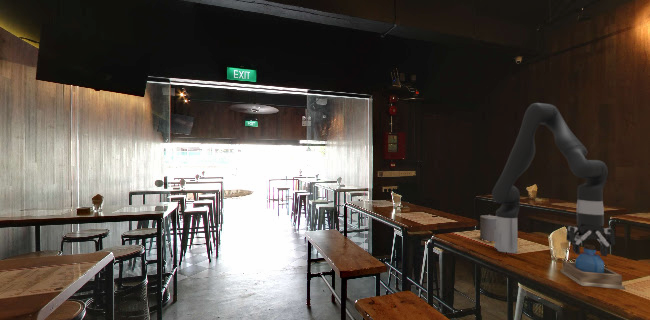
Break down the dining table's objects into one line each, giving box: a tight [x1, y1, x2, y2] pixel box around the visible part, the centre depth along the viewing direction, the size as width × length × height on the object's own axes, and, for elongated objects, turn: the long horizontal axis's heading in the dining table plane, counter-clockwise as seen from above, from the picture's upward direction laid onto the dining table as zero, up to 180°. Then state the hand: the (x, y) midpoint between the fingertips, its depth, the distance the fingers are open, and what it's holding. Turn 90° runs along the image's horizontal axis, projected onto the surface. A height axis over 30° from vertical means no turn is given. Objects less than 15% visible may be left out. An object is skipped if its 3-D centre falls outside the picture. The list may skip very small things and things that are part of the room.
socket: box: [560, 261, 626, 290], centre depth 107 cm, size 13×13×4 cm
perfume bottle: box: [575, 244, 605, 273], centre depth 108 cm, size 6×6×12 cm
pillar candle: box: [479, 214, 496, 241], centre depth 162 cm, size 10×10×15 cm
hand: (590, 254), depth 108 cm, fingers open, 8 cm apart
